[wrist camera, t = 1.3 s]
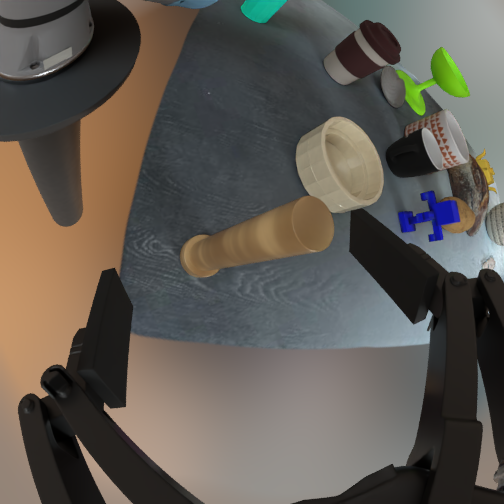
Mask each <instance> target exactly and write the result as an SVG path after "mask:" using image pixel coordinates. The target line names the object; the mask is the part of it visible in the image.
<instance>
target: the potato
mask: <svg viewBox="0 0 504 504" xmlns="http://www.w3.org/2000/svg"><path fill="white" fill-rule="evenodd" d="M448 200H455V201H457V205H458V210H459V215H460V221H461V222H457V223H452V224H447V225H441V227H442V228H444V229H446V230H448V231H449V232H451V233H462V232H464V231H466V230H468V229H470V228H471V227H472V226H473V224H474V222H475V214H474V212H473V211H472V210H471V209H470V207H469V206H468V205H467V204H466V203H465V202H464V201H462V200H461V199H459V198H457V197H445V198H444V199H442V200H441V201H440V202H444V201H448ZM440 202H439V203H440Z"/></svg>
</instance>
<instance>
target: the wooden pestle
mask: <svg viewBox="0 0 504 504" xmlns="http://www.w3.org/2000/svg"><path fill="white" fill-rule="evenodd" d="M333 235H334V222H333V218H332V215H331V212H330V211H329V209H328V207H327V206H326V205H325V203H324V202H323V201H321V200H320V199H318V198H317V197H314V196H304V197H301V198H299V199H296V200H294V201H291V202H289V203H287V204H284V205H282V206H279V207H277V208H275V209H272V210H270V211H267V212H265V213H263V214H260V215H258V216H255V217H253V218H251V219H248V220H246V221H244V222H241V223H239V224H237V225H234V226H232V227H230V228H227V229H225V230H223V231H220V232H218V233H216V234H214V235H211V236H209V235H197V236H195V237H193V238H191V239H189V240H188V241H186V242H185V244H184V245H183V247H182V249H181V253H180V260H181V264H182V266H183V268H184V269H185V271H186V272H187V273H188V274H190V275H192V276H194V277H199V278H201V277H209V276H212V275H214V274H215V273H217V272H218V271H219V269H222V268H228V267H234V266H239V265H245V264H251V263H257V262H263V261H269V260H274V259H280V258H286V257H292V256H297V255H303V254H309V253H314V252H320V251H323V250H324V249H326V248H327V247H328V246H329V245H330V243H331V241H332V239H333Z"/></svg>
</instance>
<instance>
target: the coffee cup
mask: <svg viewBox="0 0 504 504" xmlns="http://www.w3.org/2000/svg"><path fill="white" fill-rule="evenodd" d="M400 51H401V47H400V44H399V42H398V41H397V40H396V38H395V37H394V35H393V34H392V33H391V32H390V31H389V30H388V28H386V27H385V26H384V25H383V24H381V23H373V22H371V21H369V20H365V21H364V22H362V23H361V24H360V28H359V29H358V30H357V31H354V32H353V33H351V34H350V35H349V36H348V37H347V38H346V39H344V40H343V41H342V42H341V43H340V44H339V45H337V46H336V48H335V49H334V50H333V51H332V52H331V53H330V54H329V55H328V56H326V57H325V59H324V67H325V69H326V71H327V72H328V74H329V75H330V76H331V77H332V78H333V79H334V80H335V81H336V82H338V83H340V84H342V85H347V84H350V83H351V82H353V81H355V80H357V79H359V78H363V77H365V76H367V75H369V74H371V73H373V72H375V71H377V70H380V69H382V68H384V67H385V65H387V64H391V65H394V64H396V63H398V62H399V61H400V55H399V53H400Z"/></svg>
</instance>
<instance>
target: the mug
mask: <svg viewBox="0 0 504 504" xmlns="http://www.w3.org/2000/svg"><path fill="white" fill-rule="evenodd" d="M386 159H387V163H388V165H389V167H390V169H391V171H392V172H393V173H394V174H395V175H396V176H398V177H414V176H420V175H425V174H429V173H433V172H437V171H440V170H441V169H442V168H443V159H442V154H441V151H440V148H439V145H438V143H437V141H436V139H435V137H434V136H433V134H432V133H431V132H430V131H429V130H428V129H427V128H421V129H418V130H416V131H414V132H412V133H410V134H408V135H406V136H404V137H403V138H401V139H399V140H398V141H396V142H395V143H393V144H392V145H391V146H390V147H389V148H388V149H387V152H386Z"/></svg>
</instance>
